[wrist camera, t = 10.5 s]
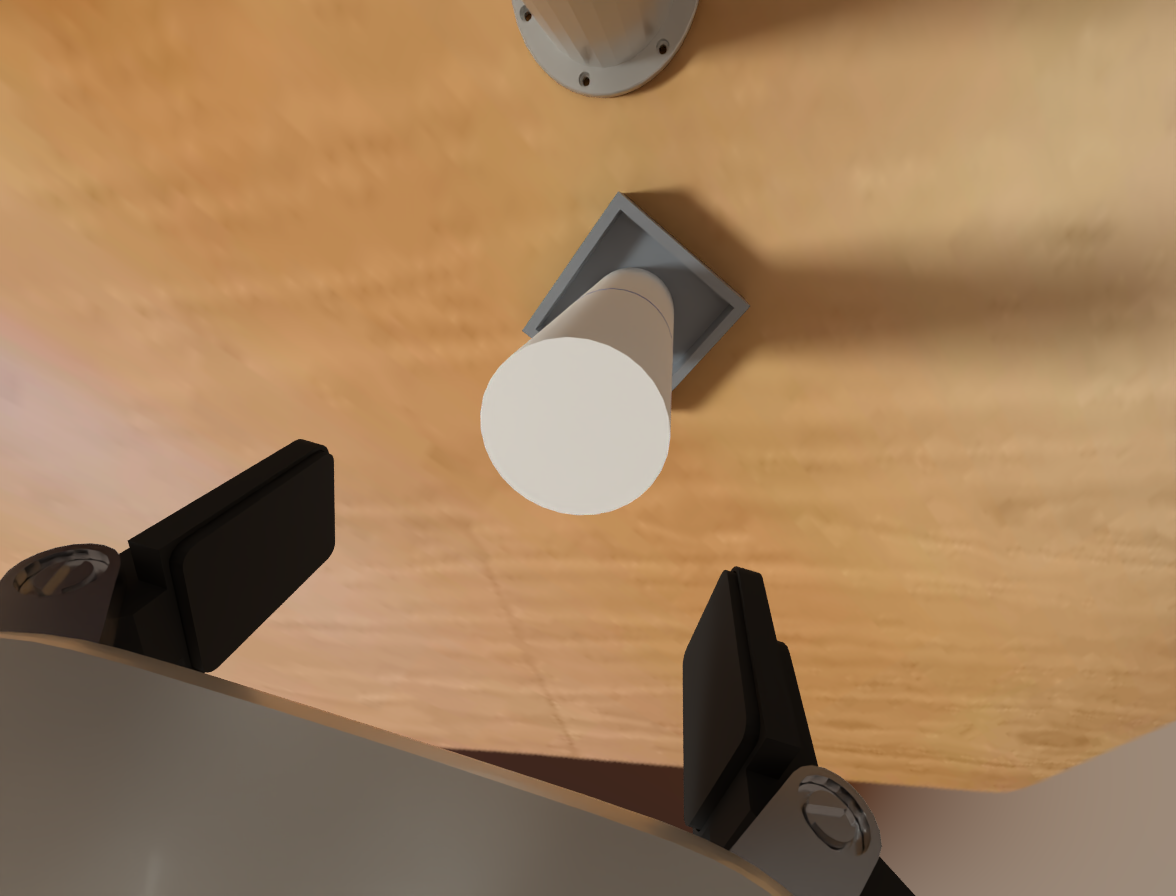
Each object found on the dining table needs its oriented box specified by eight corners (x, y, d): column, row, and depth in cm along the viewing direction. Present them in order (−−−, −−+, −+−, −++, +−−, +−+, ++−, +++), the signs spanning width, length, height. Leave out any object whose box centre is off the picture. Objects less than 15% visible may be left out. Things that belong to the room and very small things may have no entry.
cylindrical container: (692, 312, 40) (712, 437, 17) (630, 372, 43) (578, 545, 20) (630, 247, 38) (564, 291, 16) (570, 313, 41) (444, 429, 19)
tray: (623, 193, 38) (618, 191, 35) (744, 299, 39) (750, 306, 36) (533, 322, 43) (522, 330, 40) (643, 410, 45) (641, 424, 42)
